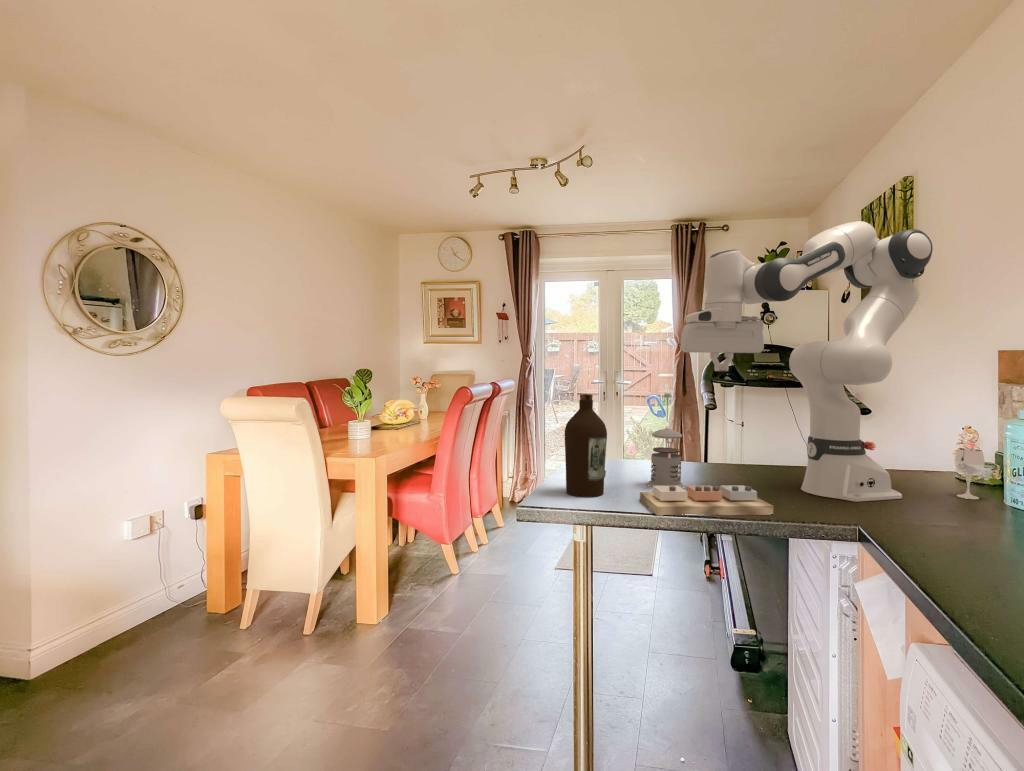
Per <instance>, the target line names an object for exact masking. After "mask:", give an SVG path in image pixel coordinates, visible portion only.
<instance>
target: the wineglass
mask: <svg viewBox="0 0 1024 771" xmlns="http://www.w3.org/2000/svg"><path fill="white" fill-rule="evenodd" d="M985 462H986V461H985V456H984V452H983V450H982V449H978V448H967V447H965V448H963V447H962V448H958V449H957V451H956V454H955V458H954V466H955V469H956V470H957V471H958V472H959V473H961V474H964V475H966V477H965V480H966V486H967V487H966V491H965V493H962V494H959V493H958V494H957V495H956V497H958V498H961V499H967V500H979V499H980V497H979V496H975V495H974V494H971V492H970V485H971V482H972V476H975V475H979V474H981V473H982V472H983V471H984V468H985V464H986V463H985Z"/></svg>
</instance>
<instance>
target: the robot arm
mask: <svg viewBox="0 0 1024 771" xmlns="http://www.w3.org/2000/svg"><path fill="white" fill-rule="evenodd" d="M932 254H933V243H932V240H931V239H930V237H929V236H928V235H927V234H926V233H925V232H924V231H923V230H921V229H916V228H915V229H914V228H913V229H911V228H910V229H905V230H900V231H897V232H895V233H894V234H893V235H890V236H887V237H886V236H885V237H884V238H882V239H880V238H878V234H877V231H876V229H875V228H874V226H873V225H872V224H870V223H868V222H866V221H863V220H857V221H851V222H845V223H842V224H838V225H836V226H833V227H830V228H828V229H825V230H823V231H821V232H819V233H818V234H815V235H814V236H813V237H810V239H808V240H807V241H806V242H805V243H804V246H803V248H802V255H800V256H798V257H796V258H793V257H779V258H775V259H772V260H770V261H766V262H763V263H761V262H760V263H758V264H757V263H755V262H753V261H751V260H749V259H747V258H746V256H744V255H743V254H742V252H741V250H739V249H729V250H724V251H719V252H716V253H714V254H712V255H711V256H710V257H709V258H708V260H707V264H706V268H705V278H704V279H705V281H704V282H705V283H704V289H705V292H706V296H705V297H706V298H705V299H704V308H703V309H700V310H698V311H696V312H691V313H689V314H687V315H685V316H684V321H685V323H686V324H685V325H684V326H683V328H682V331H681V334H680V335H681V336H680V349H681V351H682V352H683V353H709V357H710V360H711V361H712V363H713V365H714V372H728V371H729V368H730V367H729V365H730V363H731V362H732V361H733V359H734V354H744V353H745V354H760V353H762V352H763V350H764V349H765V342H764V333H763V331H764V322H763V320H762V319H761V318H759V317H758V316H756V315H755V316H754V315H753V316H747V315H743V304H744V305H745V304H746V305H755V304H763V303H770V302H786V301H789V300H791V299H793V298H794V297H795V296H796V295H797V294H799V293H800V291H801V290H802V288H804V286H805V285H807V283H809V282H810V281H813V280H815V279H816V278H819V277H820V276H823V275H828V274H832V273H835V272H838V271H841V270H843V271H844V272H843V273H844V275H845V277H846V279H847V281H848V282H849V283H850V285H852V286H853V287H855V288H858V289H868V288H870V290H869V292H868V294H866V296H864V298H863V299H862V300H861V301H860V302H858V304H857V305H856V306H855V307H854V309H853V310H851V312H850V313H849V314H848V315H847V317H845V319H844V321H843V332H844V334H845V337H843V338H841V339H839V340H827V341H826V340H822V341H821V340H819V341H817V340H816V341H811V342H807V343H804V344H800V345H798V346H797V347H795V348H794V349H793V350H792V351H791V353H790V355H789V356H790V357H789V359H788V361H789V363H788V366H789V369H790V372H791V373H792V375H793V376H794V377H795V378H796V379H797V380H798V381H799V382H800V384H801V385H802V388H803V390H804V391H805V394H806V397H807V400H808V405H809V423H810V424H809V436H807V449H806V451H807V464H806V470H805V475H804V477H803V481H802V484H801V487H800V490H801V491H803V492H804V493H807V494H812V495H814V496H820V497H824V498H826V497H827V498H832V499H839V500H845V501H849V502H871V501H885V500H886V501H887V500H898V499H899V500H901V499H903V494H902V493H901V492H899V491H897V490H895V489H892V480H891V476H890V473H889V472H888V471H887V469H885V468H884V467H883V466H882V465H880V464H879V463H877V462H876V461H875V460H874V459H873V458H871V457H870V456H868V455H867V452H866V450H869V451H874V450H875V449H876V447H877V446H876V444H875V443H874V442H871V441H868V440H867V441H863V440H862V439H860V436H861V435H860V434H861V432H860V431H861V409H860V407H859V406H858V404H857V403H855V402H854V401H853V400H851V399H850V398H849V396H848V394H847V392H846V391H845V390H846V389H845V387H844V385H846V386H847V385H848V386H849V385H851V386H863V385H871V384H875V383H880V382H882V381H884V380H885V379H887V377H888V375H889V374H890V372H891V370H892V367H893V357H892V354H891V352H890V350H889V349H888V348H887V346H886V345H887V343H888V341H890V339H891V337H893V335H894V334H895V332H897V330H898V329H899V328H900V327H901V326H902V324H903V323H904V322H905V321H906V320H907V318H908V317H909V315H910V314H911V313H912V311H913V309H914V307H915V305H916V304H917V301H918V298H919V291H918V287H917V286H916V285H915V284H914V282H913V281H914V279H917V278H919V277H922V275H923V274H924V273H925V268H926V266H928V264H929V262H930V261H931V258H932ZM720 353H721V354H724V356H723V357H724V358H725V360H724V362H723V363H720V361H719V359H718V358H719V357H720Z"/></svg>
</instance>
